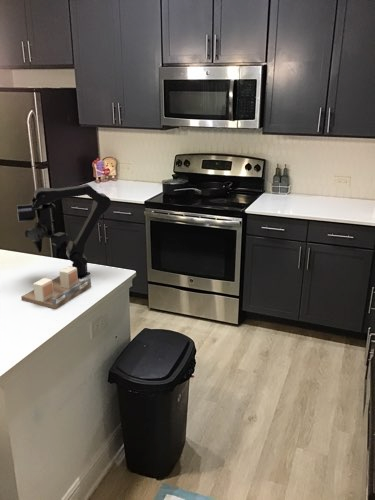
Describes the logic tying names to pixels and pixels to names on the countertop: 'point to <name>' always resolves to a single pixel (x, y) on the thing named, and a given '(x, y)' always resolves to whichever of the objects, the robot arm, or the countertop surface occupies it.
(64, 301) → the brown tray
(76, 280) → the askew carton
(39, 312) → the countertop surface
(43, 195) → the robot arm
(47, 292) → the faced carton
